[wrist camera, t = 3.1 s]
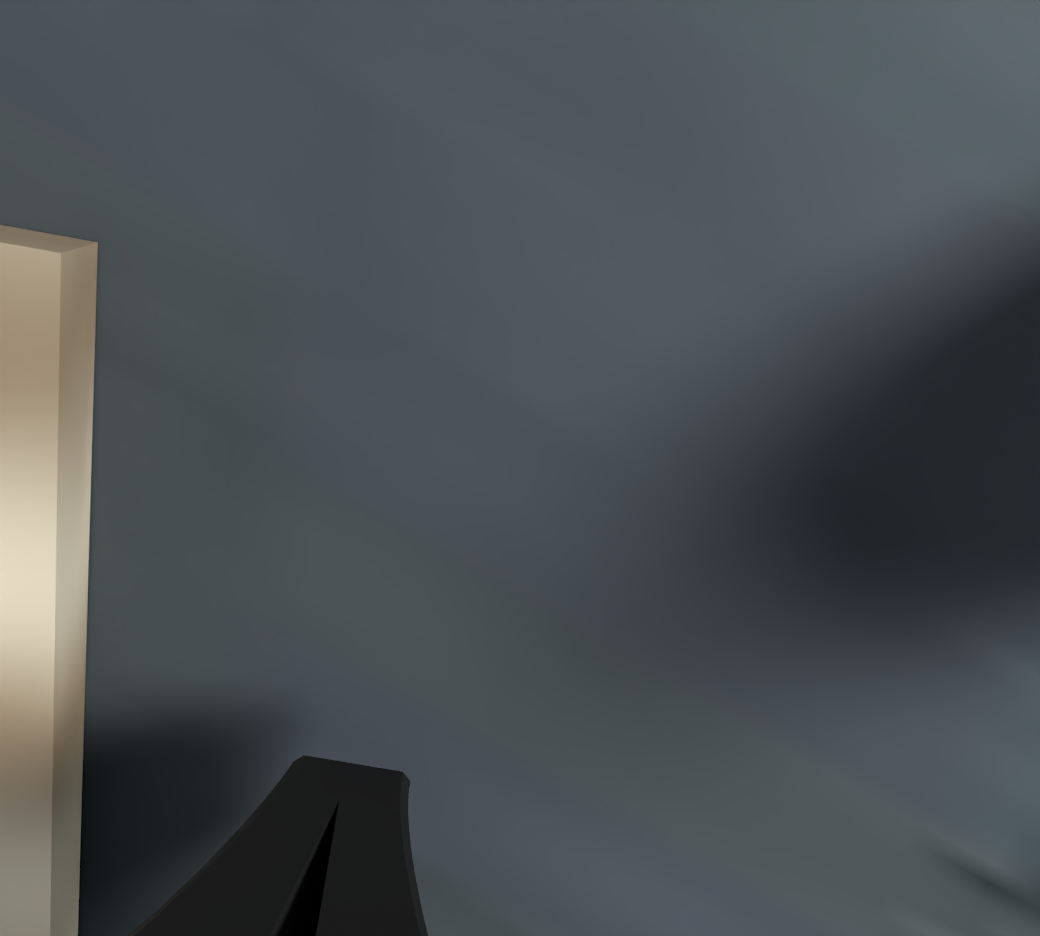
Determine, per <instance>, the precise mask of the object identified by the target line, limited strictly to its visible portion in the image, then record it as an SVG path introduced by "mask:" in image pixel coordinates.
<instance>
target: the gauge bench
mask: <svg viewBox="0 0 1040 936" xmlns="http://www.w3.org/2000/svg"><path fill="white" fill-rule="evenodd" d="M97 250H98V242H92V241H87V240H81V239H76V238H70V237H65V236H59V235H54V234H48V233H43V232H37V231H32V230H26V229H21V228H15V227H10V226H4V225H0V936H78V913H79V878H80V843H81V808H82V773H83V738H84V704H85V669H86V634H87V599H88V564H89V529H90V494H91V460H92V425H93V390H94V355H95V320H96V285H97Z"/></svg>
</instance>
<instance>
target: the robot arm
mask: <svg viewBox="0 0 1040 936" xmlns="http://www.w3.org/2000/svg"><path fill="white" fill-rule="evenodd" d="M409 786H410V781H409V779H408V778H407V777H406V775H405V774H404V773H403V772H400V771H394V770H388V769H382V768H376V767H370V766H364V765H358V764H352V763H346V762H340V761H334V760H328V759H322V758H316V757H310V756H302V757H301V758H299V759H297V760H296V761H294V762H293V763H292V765H291V766H290V768H289V769H288V770H287V772H286V773H285V775H284V776H283V777H282V778H281V780H280V781H279V782H278V784H277V785H276V786H275V787H274V789H273V790H272V791H271V792H270V794H269V795H268V796H267V797H266V799H265V800H264V801H263V802H262V803H261V805H260V806H259V807H258V808H257V809H256V810H255V811H254V813H253V814H252V815H251V816H250V817H249V818H248V819H247V821H246V822H245V823H244V824H243V825H242V826H241V827H240V828H239V829H238V831H237V832H236V833H235V834H234V835H233V836H232V837H231V838H230V839H229V840H228V841H227V842H226V843H225V844H224V845H223V846H222V847H221V848H220V850H219V851H218V852H217V853H216V854H215V855H214V856H213V857H212V858H211V859H210V860H209V861H208V862H207V863H206V864H205V865H204V866H203V867H202V868H201V869H200V870H199V871H198V872H197V873H196V874H195V875H194V876H193V877H192V878H191V879H190V880H189V881H188V882H187V883H186V884H185V885H184V886H183V887H182V888H180V889H179V890H178V891H177V892H176V893H175V894H174V895H173V896H172V897H171V898H170V899H169V900H168V901H167V902H166V903H164V904H163V905H162V906H161V907H160V908H159V909H158V910H157V911H156V912H155V913H154V914H153V915H152V916H151V917H149V918H148V919H147V920H146V921H145V922H144V923H143V924H142V925H140V926H139V927H138V928H137V929H136V930H135V931H133V932H132V933H131V934H130V935H129V936H428V934H427V930H426V926H425V922H424V917H423V913H422V908H421V903H420V898H419V893H418V888H417V883H416V878H415V873H414V866H413V860H412V853H411V844H410V834H409V822H408V793H409Z"/></svg>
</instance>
